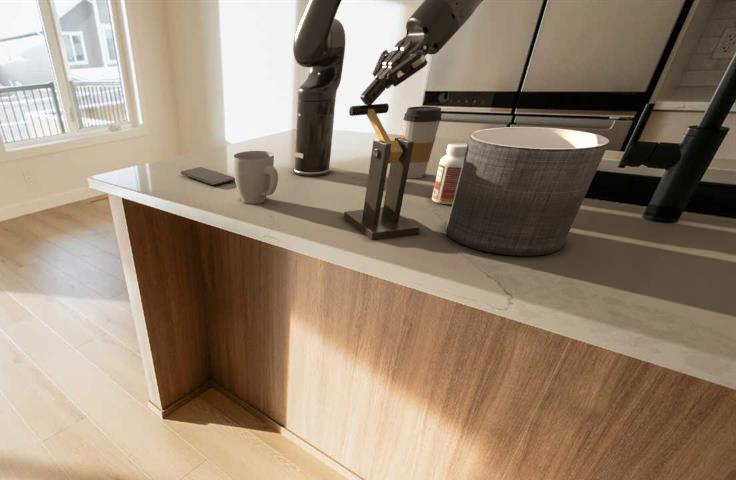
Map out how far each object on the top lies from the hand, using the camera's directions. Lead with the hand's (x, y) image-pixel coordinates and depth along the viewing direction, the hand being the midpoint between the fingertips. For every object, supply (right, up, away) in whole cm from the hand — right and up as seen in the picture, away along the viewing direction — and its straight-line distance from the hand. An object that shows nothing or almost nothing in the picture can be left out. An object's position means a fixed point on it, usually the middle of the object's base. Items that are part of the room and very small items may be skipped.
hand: (364, 101), depth 77 cm
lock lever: (+2, -7, -1) cm, 7 cm away
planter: (+23, -26, -3) cm, 34 cm away
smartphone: (-30, 0, +37) cm, 48 cm away
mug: (-18, -12, +19) cm, 29 cm away
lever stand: (+4, -22, +3) cm, 22 cm away
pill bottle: (+22, -14, +13) cm, 29 cm away
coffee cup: (+22, -2, +31) cm, 38 cm away
